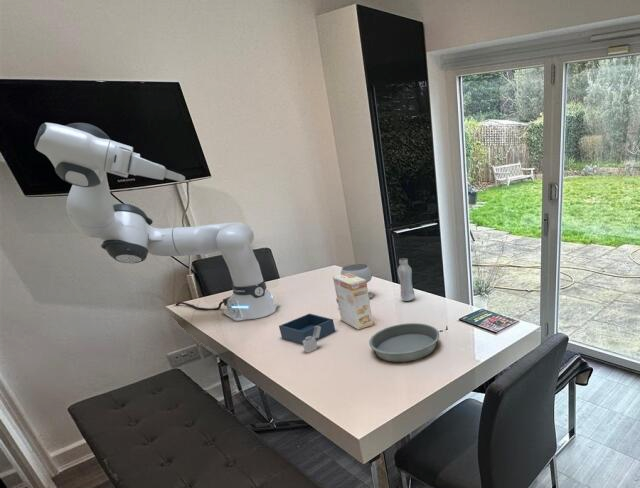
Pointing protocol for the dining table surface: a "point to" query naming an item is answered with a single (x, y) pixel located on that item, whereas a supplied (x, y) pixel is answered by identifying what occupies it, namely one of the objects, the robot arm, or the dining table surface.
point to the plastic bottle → (405, 280)
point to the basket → (306, 328)
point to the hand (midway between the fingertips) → (184, 178)
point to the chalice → (359, 272)
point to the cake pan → (404, 342)
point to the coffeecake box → (353, 300)
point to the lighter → (311, 340)
